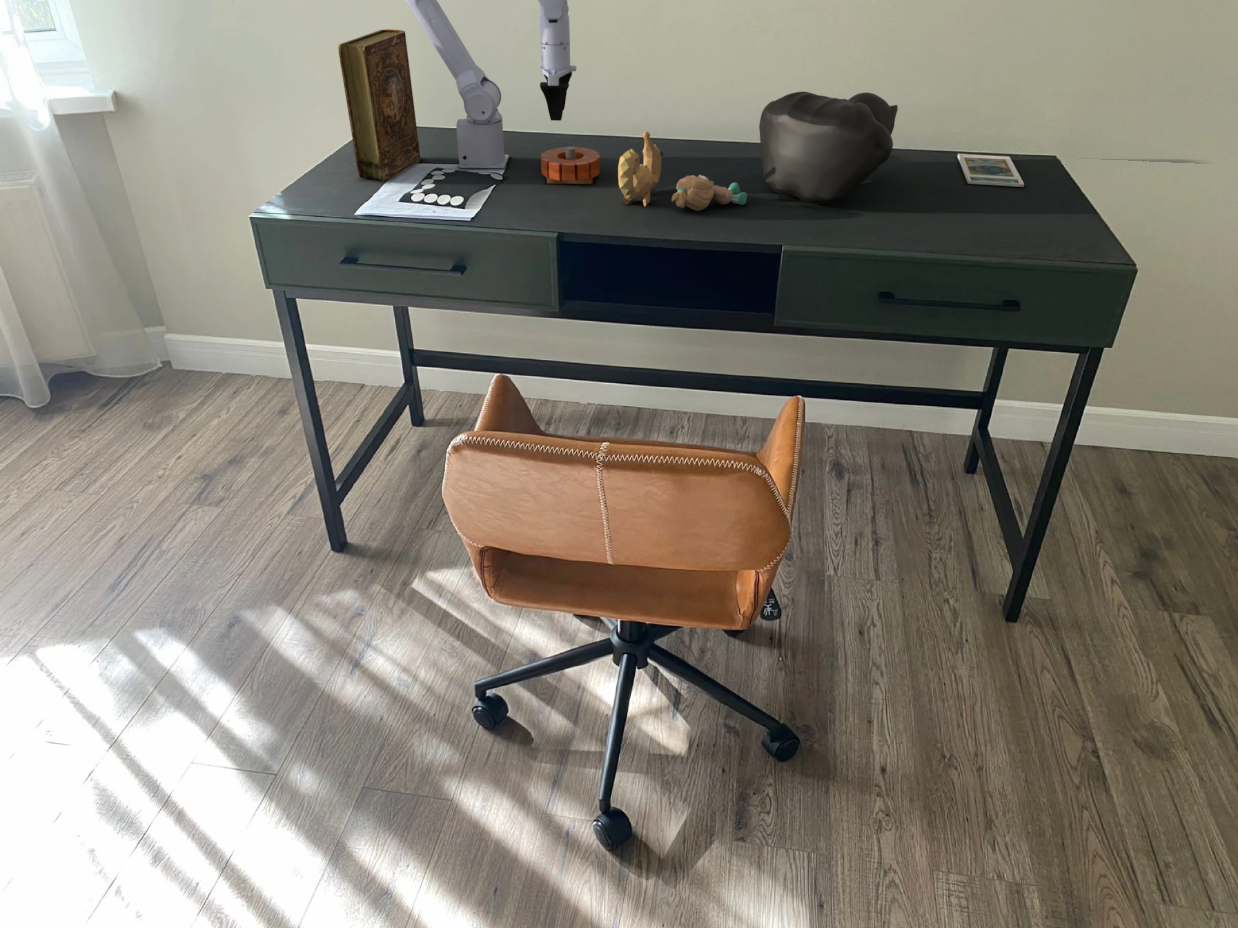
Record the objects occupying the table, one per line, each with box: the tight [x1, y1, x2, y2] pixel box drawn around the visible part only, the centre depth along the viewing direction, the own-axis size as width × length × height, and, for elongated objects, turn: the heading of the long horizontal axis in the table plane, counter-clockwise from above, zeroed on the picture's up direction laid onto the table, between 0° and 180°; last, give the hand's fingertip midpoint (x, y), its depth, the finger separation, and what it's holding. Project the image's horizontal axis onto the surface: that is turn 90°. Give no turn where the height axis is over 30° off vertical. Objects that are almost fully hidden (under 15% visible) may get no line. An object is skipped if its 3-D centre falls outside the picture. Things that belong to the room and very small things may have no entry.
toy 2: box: [671, 174, 748, 212], centre depth 168 cm, size 8×7×15 cm
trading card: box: [957, 153, 1025, 188], centre depth 186 cm, size 11×1×18 cm
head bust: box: [758, 91, 899, 205], centre depth 174 cm, size 28×20×30 cm
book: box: [337, 28, 421, 182], centre depth 179 cm, size 16×6×25 cm, turn 161°
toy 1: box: [617, 131, 664, 207], centre depth 168 cm, size 5×12×20 cm
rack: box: [546, 146, 594, 185], centre depth 181 cm, size 9×9×6 cm
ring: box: [540, 146, 601, 181], centre depth 181 cm, size 12×12×3 cm
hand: (557, 115), depth 184 cm, fingers open, 7 cm apart
